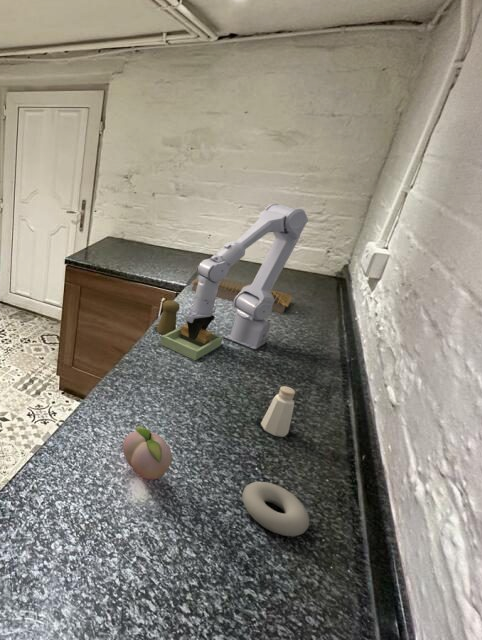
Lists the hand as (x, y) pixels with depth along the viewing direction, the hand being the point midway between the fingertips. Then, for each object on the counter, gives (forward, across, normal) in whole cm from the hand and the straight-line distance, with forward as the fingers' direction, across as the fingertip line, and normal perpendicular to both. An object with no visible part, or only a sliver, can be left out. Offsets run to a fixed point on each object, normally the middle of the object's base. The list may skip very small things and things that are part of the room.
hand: (195, 336), depth 127 cm
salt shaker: (+3, +23, +32) cm, 40 cm away
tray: (+2, +2, 0) cm, 3 cm away
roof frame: (+2, -54, -10) cm, 55 cm away
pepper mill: (+3, 0, -10) cm, 10 cm away
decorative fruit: (+3, +59, +22) cm, 63 cm away
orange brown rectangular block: (+2, 0, 0) cm, 2 cm away
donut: (+3, +48, +41) cm, 63 cm away
